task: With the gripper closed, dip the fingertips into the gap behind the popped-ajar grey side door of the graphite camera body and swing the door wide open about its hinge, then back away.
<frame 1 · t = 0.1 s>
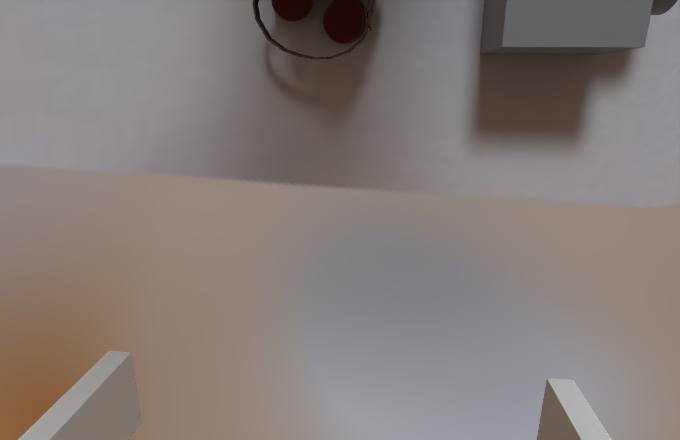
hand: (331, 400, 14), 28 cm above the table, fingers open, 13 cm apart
binoculars: (327, 0, 37), on the table
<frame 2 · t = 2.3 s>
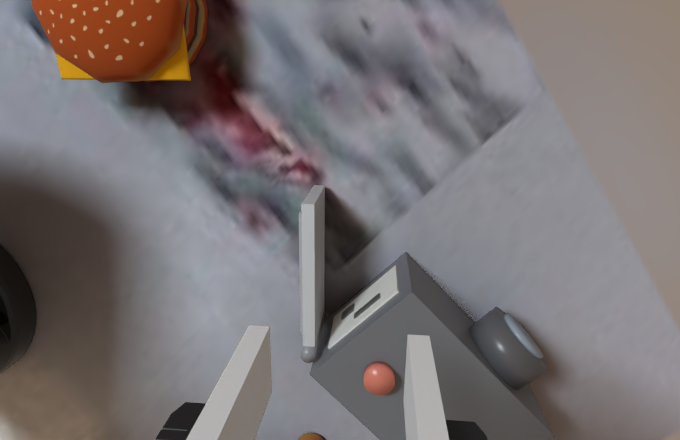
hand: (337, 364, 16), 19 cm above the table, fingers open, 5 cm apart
camera body: (422, 347, 37), on the table
side door: (313, 270, 32), point 3 cm above the table, hinge at 45.0°
hamburger: (147, 14, 32), on the table
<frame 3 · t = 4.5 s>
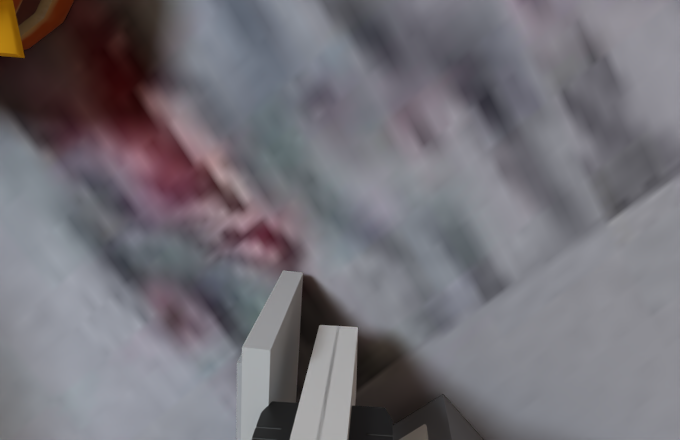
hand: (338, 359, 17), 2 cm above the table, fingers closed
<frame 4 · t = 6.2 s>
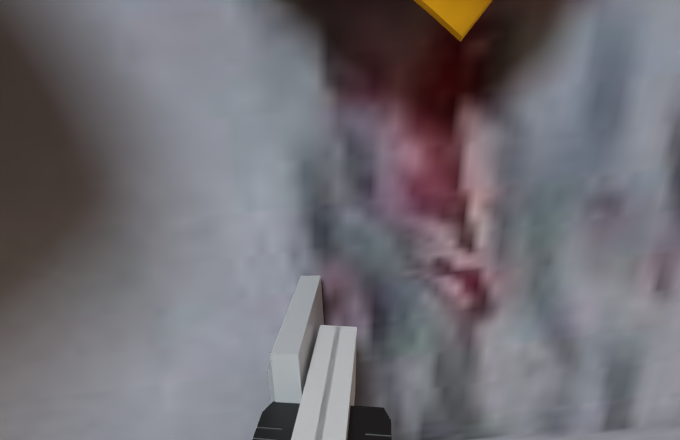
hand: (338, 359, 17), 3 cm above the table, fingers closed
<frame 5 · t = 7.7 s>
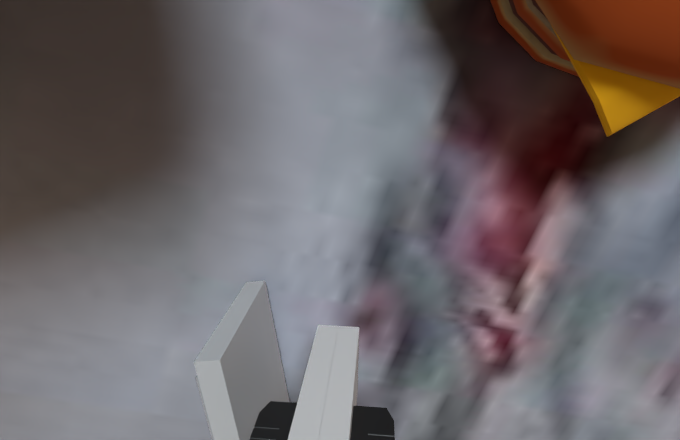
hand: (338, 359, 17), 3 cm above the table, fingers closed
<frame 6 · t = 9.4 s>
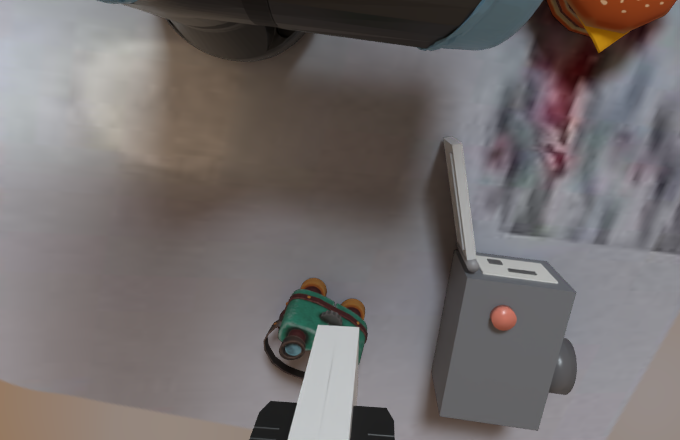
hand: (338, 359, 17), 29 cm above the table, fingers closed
camera body: (486, 319, 47), on the table
binoculars: (320, 321, 49), on the table
side door: (459, 202, 40), point 3 cm above the table, hinge at 107.1°
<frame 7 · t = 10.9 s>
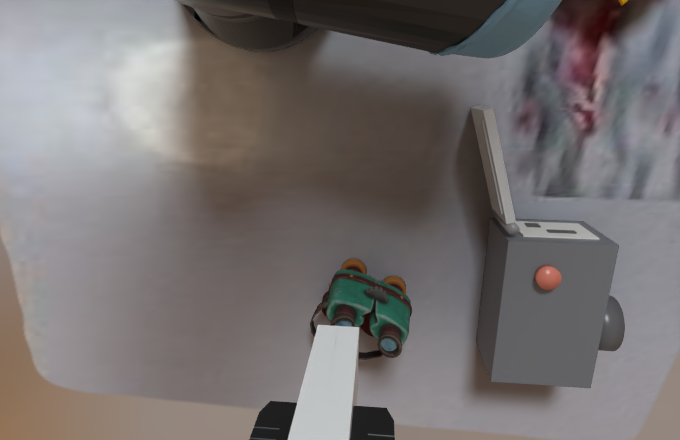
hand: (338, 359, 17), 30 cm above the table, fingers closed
camera body: (527, 284, 47), on the table
binoculars: (362, 301, 50), on the table
side door: (493, 168, 41), point 3 cm above the table, hinge at 107.1°
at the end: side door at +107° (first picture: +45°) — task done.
